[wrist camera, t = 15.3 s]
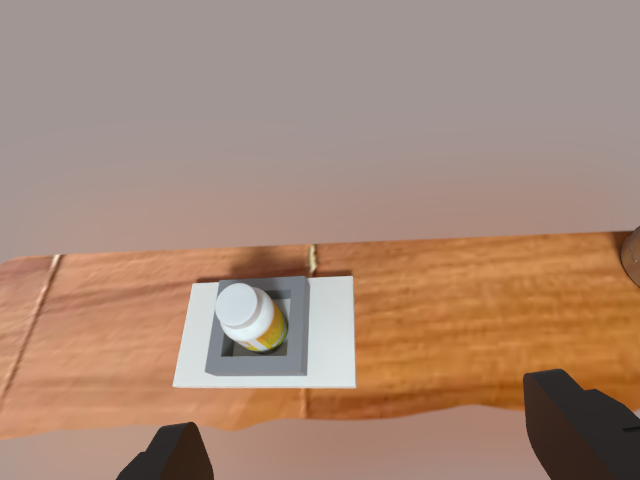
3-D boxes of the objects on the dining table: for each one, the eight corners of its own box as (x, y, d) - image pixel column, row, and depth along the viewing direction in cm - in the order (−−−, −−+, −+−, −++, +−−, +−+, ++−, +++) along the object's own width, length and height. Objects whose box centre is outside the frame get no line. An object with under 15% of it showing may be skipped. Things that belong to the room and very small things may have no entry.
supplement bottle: (246, 360, 40) (208, 340, 31) (241, 314, 42) (204, 284, 34) (294, 348, 39) (267, 324, 31) (285, 302, 42) (259, 269, 34)
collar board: (353, 280, 43) (350, 265, 40) (356, 388, 38) (352, 382, 34) (198, 287, 47) (180, 274, 43) (179, 387, 41) (157, 382, 37)
